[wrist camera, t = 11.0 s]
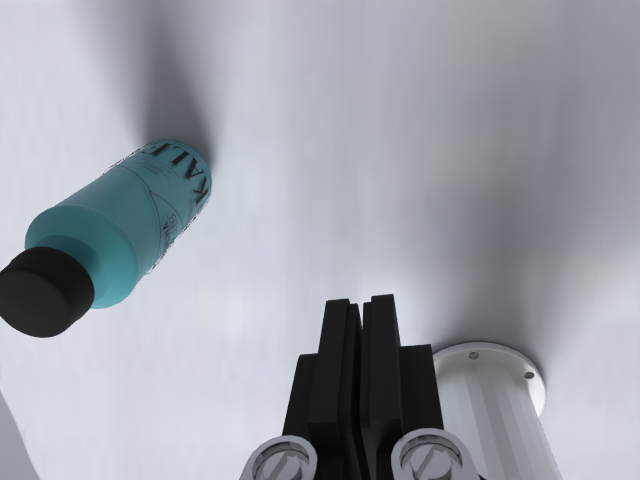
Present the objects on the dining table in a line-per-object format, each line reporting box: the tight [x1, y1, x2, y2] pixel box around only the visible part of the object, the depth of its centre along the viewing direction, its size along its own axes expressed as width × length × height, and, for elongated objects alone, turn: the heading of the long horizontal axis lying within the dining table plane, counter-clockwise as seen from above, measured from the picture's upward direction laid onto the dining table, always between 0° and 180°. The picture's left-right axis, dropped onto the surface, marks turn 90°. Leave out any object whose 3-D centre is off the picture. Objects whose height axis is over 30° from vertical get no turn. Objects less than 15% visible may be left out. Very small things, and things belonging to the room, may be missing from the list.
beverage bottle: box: [0, 139, 212, 338], centre depth 31 cm, size 6×7×20 cm
